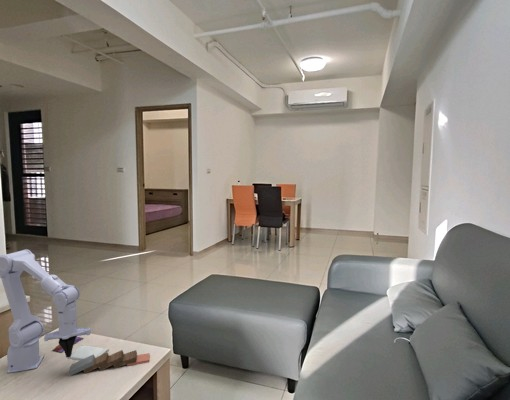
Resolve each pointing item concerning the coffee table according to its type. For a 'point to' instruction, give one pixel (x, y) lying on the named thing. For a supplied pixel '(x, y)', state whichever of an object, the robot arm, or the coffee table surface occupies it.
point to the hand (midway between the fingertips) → (68, 355)
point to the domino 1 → (81, 365)
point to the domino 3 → (113, 360)
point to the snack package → (60, 349)
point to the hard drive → (87, 352)
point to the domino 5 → (140, 359)
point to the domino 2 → (98, 362)
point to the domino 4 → (127, 359)
